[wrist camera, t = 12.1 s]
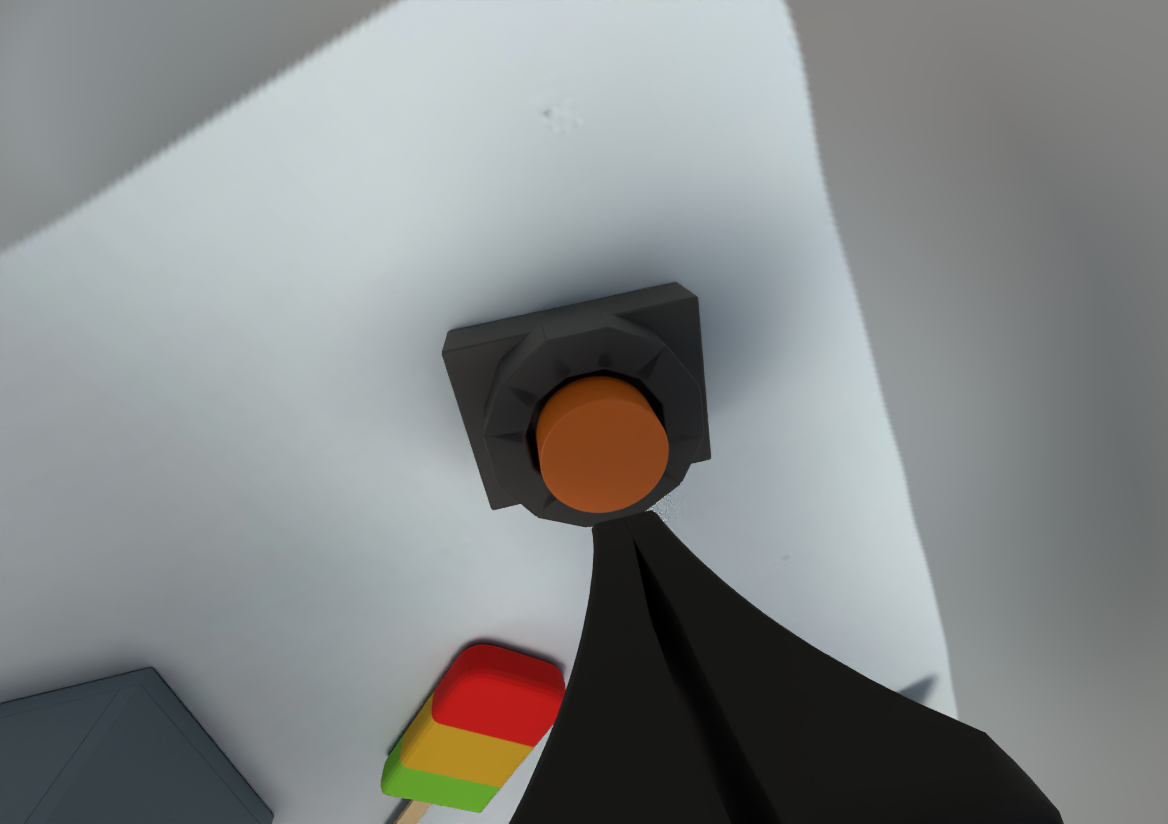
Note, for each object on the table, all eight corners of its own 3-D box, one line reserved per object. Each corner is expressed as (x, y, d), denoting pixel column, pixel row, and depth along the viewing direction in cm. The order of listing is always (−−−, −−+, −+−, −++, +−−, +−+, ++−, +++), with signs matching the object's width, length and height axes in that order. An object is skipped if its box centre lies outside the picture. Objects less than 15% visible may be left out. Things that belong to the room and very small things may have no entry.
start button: (645, 363, 15) (661, 386, 14) (659, 466, 17) (675, 497, 15) (524, 390, 15) (526, 417, 14) (549, 492, 17) (554, 525, 15)
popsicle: (573, 665, 26) (578, 701, 24) (435, 837, 30) (431, 878, 28) (469, 631, 24) (467, 668, 22) (339, 820, 28) (328, 863, 27)
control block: (676, 273, 18) (720, 302, 14) (692, 437, 21) (732, 494, 17) (444, 323, 18) (431, 366, 14) (493, 482, 21) (492, 551, 17)
